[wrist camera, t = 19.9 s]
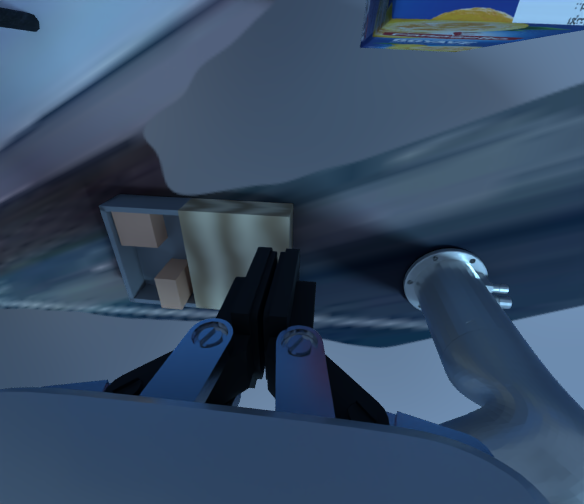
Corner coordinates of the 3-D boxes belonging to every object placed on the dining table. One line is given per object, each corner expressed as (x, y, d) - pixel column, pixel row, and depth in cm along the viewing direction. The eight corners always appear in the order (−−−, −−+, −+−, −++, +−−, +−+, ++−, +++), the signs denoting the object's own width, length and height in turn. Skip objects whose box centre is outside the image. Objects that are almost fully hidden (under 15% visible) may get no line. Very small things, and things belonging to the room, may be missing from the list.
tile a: (175, 280, 47) (154, 278, 48) (182, 309, 50) (161, 307, 51) (190, 259, 52) (171, 258, 53) (195, 287, 56) (177, 286, 56)
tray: (191, 198, 47) (177, 210, 43) (206, 289, 57) (196, 307, 52) (119, 194, 48) (98, 205, 44) (145, 284, 58) (130, 301, 53)
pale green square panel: (293, 203, 46) (289, 217, 42) (291, 296, 55) (288, 315, 51) (191, 198, 47) (177, 210, 43) (206, 289, 57) (196, 307, 52)
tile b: (110, 210, 45) (124, 201, 48) (121, 245, 48) (133, 235, 51) (148, 212, 45) (160, 203, 48) (157, 247, 48) (167, 237, 51)
